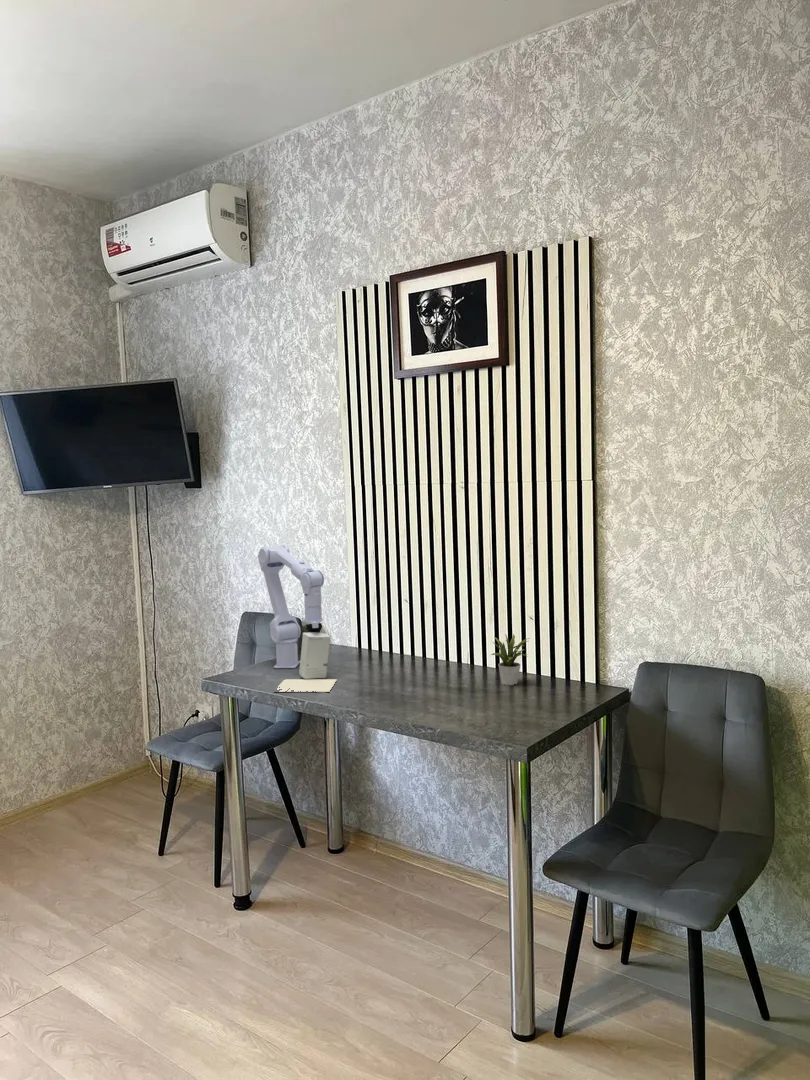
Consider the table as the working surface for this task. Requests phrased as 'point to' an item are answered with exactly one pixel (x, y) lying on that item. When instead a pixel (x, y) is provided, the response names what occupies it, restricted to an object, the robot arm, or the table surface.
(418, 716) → the table surface
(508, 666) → the house plant
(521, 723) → the table surface
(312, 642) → the skincare box
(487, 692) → the table surface
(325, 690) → the mat
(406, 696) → the table surface
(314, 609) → the robot arm
